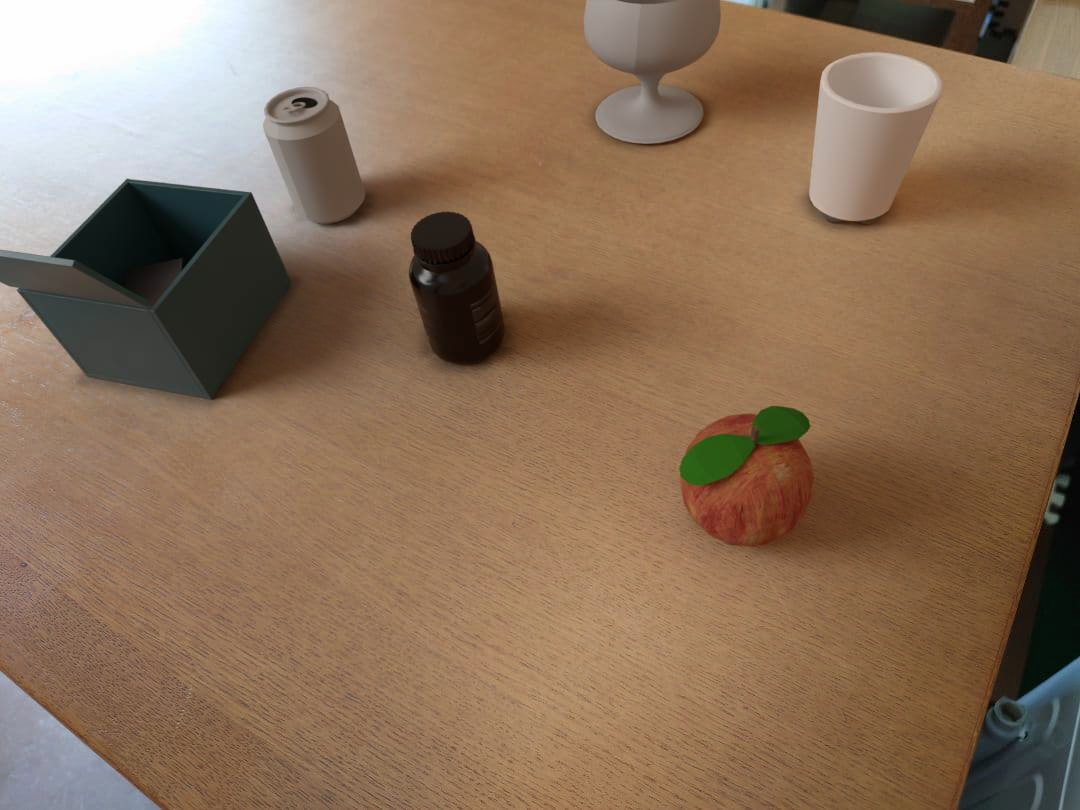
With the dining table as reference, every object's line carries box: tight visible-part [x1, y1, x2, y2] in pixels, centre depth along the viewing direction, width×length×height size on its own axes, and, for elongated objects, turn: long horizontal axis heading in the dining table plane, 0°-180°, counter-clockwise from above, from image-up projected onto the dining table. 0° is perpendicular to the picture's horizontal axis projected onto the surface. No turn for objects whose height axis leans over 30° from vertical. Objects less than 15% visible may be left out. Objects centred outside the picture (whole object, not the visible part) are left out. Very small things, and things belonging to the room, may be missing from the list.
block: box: [125, 258, 186, 307], centre depth 69 cm, size 5×5×9 cm
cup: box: [808, 51, 944, 226], centre depth 71 cm, size 10×10×13 cm
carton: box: [16, 178, 292, 400], centre depth 68 cm, size 15×13×10 cm
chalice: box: [583, 0, 722, 145], centre depth 83 cm, size 14×14×15 cm
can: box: [262, 86, 366, 225], centre depth 78 cm, size 8×8×12 cm
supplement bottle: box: [408, 210, 506, 365], centre depth 64 cm, size 7×7×12 cm
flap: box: [0, 249, 149, 308], centre depth 56 cm, size 7×13×1 cm
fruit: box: [678, 405, 815, 548], centre depth 51 cm, size 9×10×10 cm
